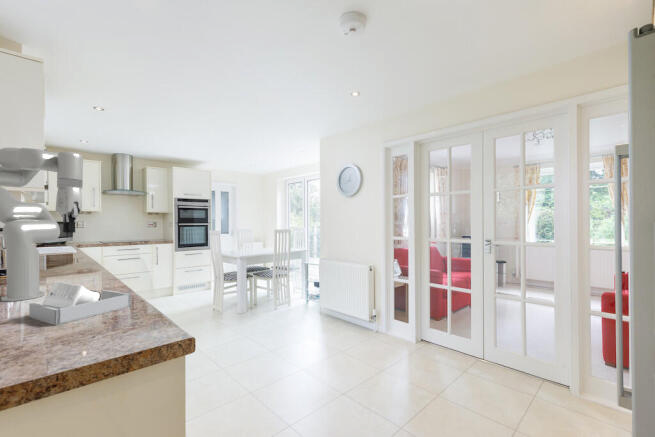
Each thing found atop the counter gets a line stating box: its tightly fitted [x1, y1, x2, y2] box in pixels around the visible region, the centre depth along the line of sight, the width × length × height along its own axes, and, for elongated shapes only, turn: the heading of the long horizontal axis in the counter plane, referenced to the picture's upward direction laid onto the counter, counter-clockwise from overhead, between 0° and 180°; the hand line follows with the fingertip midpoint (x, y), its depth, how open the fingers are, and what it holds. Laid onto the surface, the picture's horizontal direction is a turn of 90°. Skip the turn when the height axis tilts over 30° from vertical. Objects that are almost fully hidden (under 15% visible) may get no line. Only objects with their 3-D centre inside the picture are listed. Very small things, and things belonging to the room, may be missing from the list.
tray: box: [28, 289, 132, 326], centre depth 105 cm, size 17×22×4 cm
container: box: [42, 280, 101, 309], centre depth 102 cm, size 8×8×13 cm
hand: (69, 232), depth 118 cm, fingers closed
